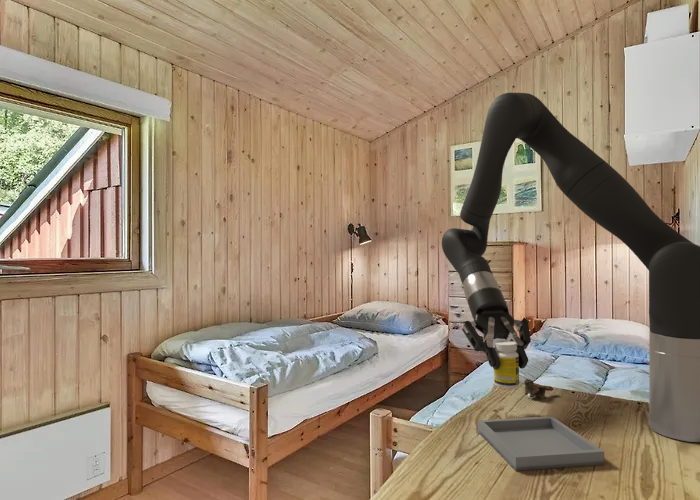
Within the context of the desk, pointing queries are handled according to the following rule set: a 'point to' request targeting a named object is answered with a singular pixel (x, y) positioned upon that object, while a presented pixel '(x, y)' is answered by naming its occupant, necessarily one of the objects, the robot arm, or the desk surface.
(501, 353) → the supplement bottle
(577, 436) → the tray
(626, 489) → the desk surface
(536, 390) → the cat figurine
